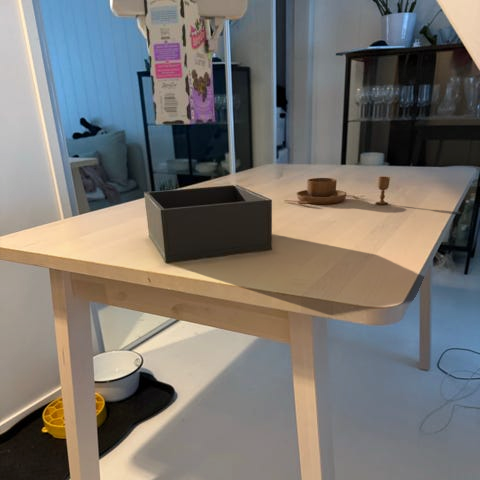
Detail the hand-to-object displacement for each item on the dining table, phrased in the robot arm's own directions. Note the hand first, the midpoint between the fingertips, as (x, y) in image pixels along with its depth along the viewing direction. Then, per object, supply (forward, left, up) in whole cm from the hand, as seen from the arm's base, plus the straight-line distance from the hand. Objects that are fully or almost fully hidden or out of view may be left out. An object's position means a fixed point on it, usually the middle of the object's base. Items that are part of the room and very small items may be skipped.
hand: (183, 53), depth 71 cm
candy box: (0, -1, -10) cm, 10 cm away
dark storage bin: (+1, -4, -29) cm, 29 cm away
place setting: (+38, +18, -29) cm, 51 cm away
